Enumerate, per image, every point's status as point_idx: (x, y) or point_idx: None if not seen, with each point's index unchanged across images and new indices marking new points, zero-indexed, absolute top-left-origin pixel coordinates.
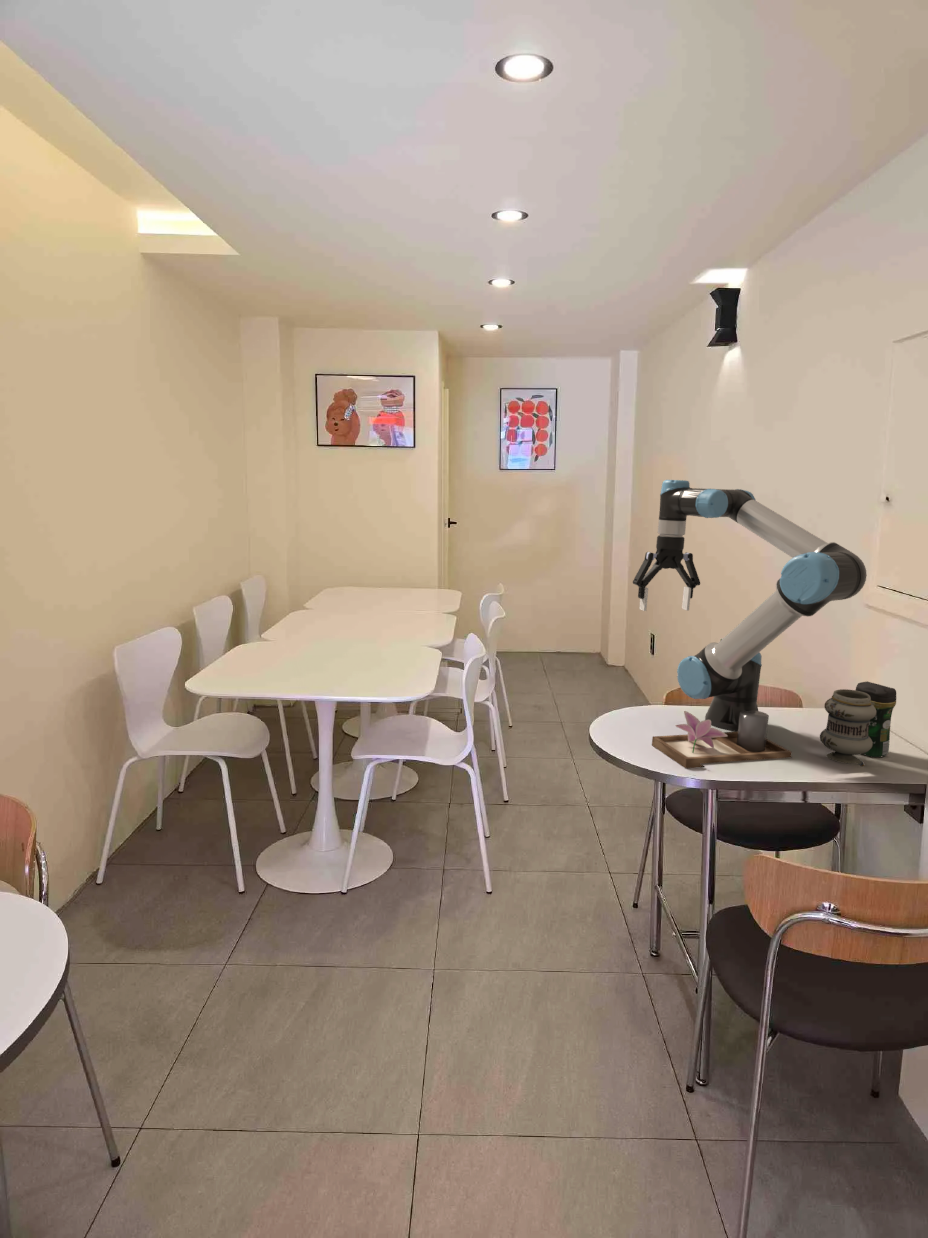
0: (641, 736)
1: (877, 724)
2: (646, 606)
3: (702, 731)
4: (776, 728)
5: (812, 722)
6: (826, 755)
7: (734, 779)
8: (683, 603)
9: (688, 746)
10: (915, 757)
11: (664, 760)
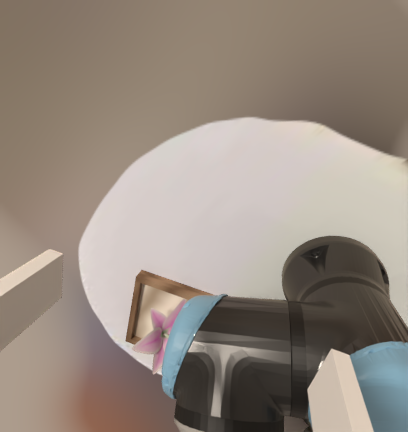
0: (151, 239)
1: None
2: (41, 313)
3: (163, 345)
4: None
5: None
6: None
7: (159, 371)
8: (331, 396)
9: (170, 309)
10: None
11: (124, 307)
